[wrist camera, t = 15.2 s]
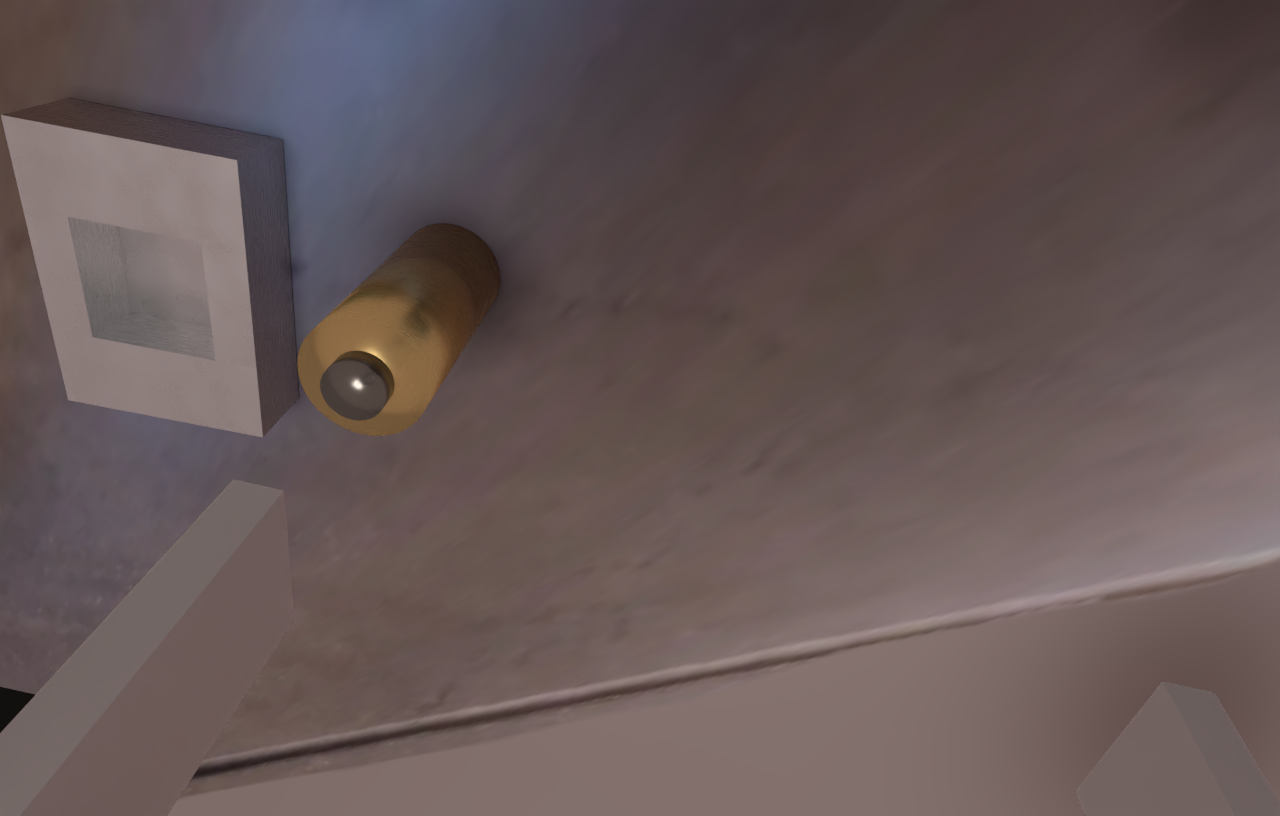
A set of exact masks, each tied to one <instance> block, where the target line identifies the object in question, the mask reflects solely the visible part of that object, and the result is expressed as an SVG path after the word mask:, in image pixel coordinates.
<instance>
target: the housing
mask: <svg viewBox="0 0 1280 816" xmlns="http://www.w3.org/2000/svg"><path fill="white" fill-rule="evenodd" d="M1 118H2V122H3V126H4V130H5V135H6V139H7V143H8V147H9V151H10V156H11V160H12V164H13V168H14V173H15V177H16V181H17V185H18V189H19V194H20V198H21V202H22V206H23V211H24V215H25V219H26V223H27V228H28V232H29V236H30V240H31V244H32V249H33V253H34V257H35V261H36V266H37V270H38V274H39V278H40V282H41V287H42V291H43V295H44V299H45V304H46V308H47V312H48V316H49V321H50V325H51V329H52V333H53V337H54V342H55V346H56V350H57V354H58V359H59V363H60V367H61V371H62V375H63V380H64V384H65V388H66V392H67V397H68V400H71V401H76V402H81V403H86V404H92V405H97V406H102V407H107V408H113V409H118V410H123V411H128V412H133V413H139V414H144V415H149V416H154V417H160V418H165V419H170V420H175V421H181V422H186V423H191V424H196V425H202V426H207V427H212V428H217V429H222V430H228V431H233V432H238V433H243V434H249V435H254V436H259V437H264V436H265V434H266V433H267V432H268V431H269V430H270V429H271V428H272V427H273V426H274V425H275V424H276V423H277V421H278V420H279V419H280V418H281V417H282V416H283V415H284V414H285V413H286V412H287V411H288V410H289V409H290V407H291V406H292V405H293V404H294V403H295V402H296V401H297V400H298V399H299V389H298V373H297V358H296V342H295V326H294V310H293V295H292V279H291V263H290V248H289V232H288V216H287V200H286V185H285V169H284V153H283V139H279V138H274V137H269V136H263V135H258V134H253V133H248V132H242V131H237V130H232V129H227V128H222V127H216V126H211V125H206V124H201V123H196V122H190V121H185V120H180V119H175V118H169V117H164V116H159V115H154V114H149V113H143V112H138V111H133V110H128V109H123V108H117V107H112V106H107V105H102V104H97V103H91V102H86V101H81V100H76V99H70V98H67V99H63V100H59V101H55V102H51V103H47V104H43V105H39V106H35V107H31V108H27V109H22V110H18V111H14V112H10V113H6V114H2V115H1Z"/></svg>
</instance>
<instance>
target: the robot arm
mask: <svg viewBox="0 0 1280 816" xmlns="http://www.w3.org/2000/svg"><path fill="white" fill-rule="evenodd" d="M293 621H294V616H293V603H292V589H291V576H290V562H289V549H288V535H287V522H286V509H285V495H284V490H279V489H274V488H270V487H265V486H261V485H256V484H251V483H247V482H242V481H238V480H232V482H231V483H230V484H229V485H228V486H227V487H226V488H225V489H224V490H223V491H222V492H221V493H220V495H219V496H218V497H217V498H216V499H215V500H214V501H213V502H212V503H211V504H210V505H209V507H208V508H207V509H206V510H205V511H204V512H203V513H202V514H201V515H200V516H199V517H198V519H197V520H196V521H195V522H194V523H193V524H192V525H191V526H190V527H189V528H188V529H187V530H186V532H185V533H184V534H183V535H182V536H181V537H180V538H179V539H178V540H177V541H176V542H175V544H174V545H173V546H172V547H171V548H170V549H169V550H168V551H167V552H166V553H165V554H164V556H163V557H162V558H161V559H160V560H159V561H158V562H157V563H156V564H155V565H154V566H153V567H152V569H151V570H150V571H149V572H148V573H147V574H146V575H145V576H144V577H143V578H142V579H141V581H140V582H139V583H138V584H137V585H136V586H135V587H134V588H133V589H132V590H131V591H130V593H129V594H128V595H127V596H126V597H125V598H124V599H123V600H122V601H121V602H120V603H119V604H118V606H117V607H116V608H115V609H114V610H113V611H112V612H111V613H110V614H109V615H108V616H107V618H106V619H105V620H104V621H103V622H102V623H101V624H100V625H99V626H98V627H97V628H96V630H95V631H94V632H93V633H92V634H91V635H90V636H89V637H88V638H87V639H86V640H85V641H84V643H83V644H82V645H81V646H80V647H79V648H78V649H77V650H76V651H75V652H74V653H73V655H72V656H71V657H70V658H69V659H68V660H67V661H66V662H65V663H64V664H63V665H62V667H61V668H60V669H59V670H58V671H57V672H56V673H55V674H54V675H53V676H52V677H51V679H50V680H49V681H48V682H47V683H46V684H45V685H44V686H43V687H42V688H41V689H40V690H39V692H38V693H37V694H36V695H35V694H30V693H26V692H21V691H17V690H12V689H8V688H3V687H0V816H167V815H168V813H169V812H170V810H171V809H172V807H173V806H174V804H175V803H176V801H177V800H178V798H179V796H180V795H181V793H182V792H183V790H184V789H185V787H186V786H187V784H188V783H189V781H190V780H191V778H192V776H193V775H194V773H195V772H196V770H197V769H198V767H199V766H200V764H201V763H202V761H203V760H204V758H205V756H206V755H207V753H208V752H209V750H210V749H211V747H212V746H213V744H214V743H215V741H216V739H217V738H218V736H219V735H220V733H221V732H222V730H223V729H224V727H225V726H226V724H227V723H228V721H229V719H230V718H231V716H232V715H233V713H234V712H235V710H236V709H237V707H238V706H239V704H240V703H241V701H242V699H243V698H244V696H245V695H246V693H247V692H248V690H249V689H250V687H251V686H252V684H253V682H254V681H255V679H256V678H257V676H258V675H259V673H260V672H261V670H262V669H263V667H264V666H265V664H266V662H267V661H268V659H269V658H270V656H271V655H272V653H273V652H274V650H275V649H276V647H277V646H278V644H279V642H280V641H281V639H282V638H283V636H284V635H285V633H286V632H287V630H288V629H289V627H290V626H291V624H292V622H293ZM1076 794H1077V797H1078V800H1079V802H1080V805H1081V807H1082V810H1083V813H1084V816H1280V802H1279V801H1278V799H1277V797H1276V796H1275V794H1274V792H1273V791H1272V789H1271V787H1270V786H1269V784H1268V782H1267V780H1266V779H1265V777H1264V776H1263V774H1262V772H1261V770H1260V769H1259V767H1258V765H1257V764H1256V762H1255V760H1254V758H1253V757H1252V755H1251V753H1250V752H1249V750H1248V748H1247V747H1246V745H1245V743H1244V742H1243V740H1242V738H1241V737H1240V735H1239V733H1238V732H1237V730H1236V728H1235V727H1234V725H1233V723H1232V722H1231V720H1230V718H1229V717H1228V715H1227V713H1226V711H1225V710H1224V708H1223V706H1222V705H1221V703H1220V702H1219V700H1218V698H1217V696H1216V695H1215V693H1213V692H1209V691H1204V690H1200V689H1195V688H1191V687H1186V686H1182V685H1177V684H1172V683H1168V682H1162V683H1161V684H1160V685H1159V687H1158V688H1157V689H1156V690H1155V692H1154V693H1153V694H1152V695H1151V697H1150V698H1149V699H1148V700H1147V702H1146V703H1145V704H1144V705H1143V707H1142V708H1141V709H1140V711H1139V712H1138V713H1137V714H1136V716H1135V717H1134V718H1133V719H1132V720H1131V722H1130V723H1129V724H1128V725H1127V727H1126V728H1125V729H1124V730H1123V732H1122V733H1121V734H1120V735H1119V737H1118V738H1117V739H1116V740H1115V742H1114V743H1113V744H1112V745H1111V747H1110V748H1109V750H1108V751H1107V752H1106V753H1105V754H1104V756H1103V757H1102V758H1101V759H1100V761H1099V762H1098V763H1097V764H1096V766H1095V767H1094V768H1093V769H1092V771H1091V772H1090V773H1089V775H1088V776H1087V777H1086V778H1085V779H1084V781H1083V782H1082V783H1081V785H1080V786H1079V787H1078V788H1077V789H1076Z"/></svg>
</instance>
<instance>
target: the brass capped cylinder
mask: <svg viewBox="0 0 1280 816" xmlns="http://www.w3.org/2000/svg"><path fill="white" fill-rule="evenodd" d="M499 287H500V271H499V267H498V263H497V261H496V258H495V256H494V255H493V253H492V251H491V250H490V248H489V247H488V246H487V245H486V243H485V242H484V241H483V240H482V239H480V238H479V237H478V236H477V235H475V234H474V233H473V232H471V231H469V230H467V229H465V228H462V227H460V226H456V225H452V224H433V225H429V226H426V227H424V228H421V229H420V230H418V231H417V232H415V233H414V234H413V235H412V236H411V237H410V238H409V239H408V240H407V241H405V242H404V243H403V244H402V245H401V246H400V247H399V248H398V249H397V250H396V251H395V252H394V253H393V254H392V255H391V256H390V257H389V258H388V259H387V260H386V261H384V262H383V263H382V264H381V265H380V266H379V267H378V268H377V269H376V270H375V271H374V272H373V273H372V274H371V275H370V276H369V277H368V278H367V279H366V280H365V281H363V282H362V283H361V284H360V285H359V286H358V287H357V288H356V289H355V290H354V291H353V292H352V293H351V294H350V295H349V296H348V297H347V298H346V299H345V300H344V301H342V302H341V303H340V304H339V305H338V306H337V307H336V308H335V309H334V310H333V311H332V312H331V313H330V314H329V315H328V316H327V317H326V318H325V319H324V320H323V321H321V322H320V323H319V324H318V325H317V326H316V327H315V328H314V329H313V330H312V331H311V332H310V333H309V334H308V335H307V337H306V338H305V339H304V341H303V343H302V345H301V347H300V350H299V354H298V374H299V378H300V381H301V384H302V386H303V389H304V391H305V393H306V394H307V396H308V398H309V399H310V400H311V402H312V403H313V404H314V405H315V407H316V408H317V409H318V410H319V411H320V412H321V413H322V414H323V415H325V416H326V417H327V418H328V419H330V420H331V421H333V422H334V423H336V424H338V425H339V426H341V427H343V428H345V429H348V430H350V431H353V432H356V433H360V434H364V435H371V436H384V435H391V434H395V433H398V432H401V431H403V430H405V429H407V428H409V427H410V426H411V425H413V424H414V423H415V422H416V421H417V420H418V419H419V418H420V416H421V415H422V413H423V412H424V410H425V409H426V407H427V406H428V404H429V402H430V401H431V399H432V398H433V396H434V395H435V393H436V391H437V390H438V388H439V387H440V385H441V384H442V382H443V381H444V379H445V377H446V376H447V374H448V373H449V371H450V370H451V368H452V366H453V365H454V363H455V362H456V360H457V359H458V357H459V355H460V354H461V352H462V351H463V349H464V348H465V346H466V345H467V343H468V341H469V340H470V338H471V337H472V335H473V334H474V332H475V330H476V329H477V327H478V326H479V324H480V323H481V321H482V319H483V318H484V316H485V315H486V313H487V312H488V310H489V308H490V307H491V305H492V304H493V302H494V301H495V299H496V297H497V295H498V291H499Z"/></svg>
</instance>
